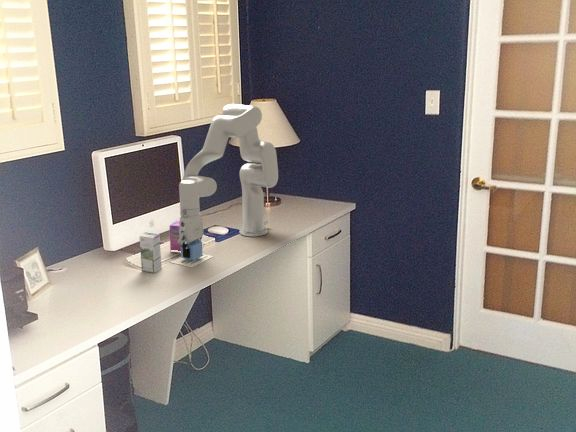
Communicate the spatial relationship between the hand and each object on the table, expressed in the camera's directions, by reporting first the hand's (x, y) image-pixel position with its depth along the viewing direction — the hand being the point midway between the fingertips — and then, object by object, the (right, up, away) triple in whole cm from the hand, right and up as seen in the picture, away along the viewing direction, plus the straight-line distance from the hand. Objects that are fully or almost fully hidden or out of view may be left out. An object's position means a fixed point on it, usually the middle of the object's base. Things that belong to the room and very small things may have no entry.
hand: (191, 254), depth 268 cm
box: (-6, +1, +13) cm, 14 cm away
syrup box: (-14, -5, -11) cm, 18 cm away
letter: (0, -2, +1) cm, 2 cm away
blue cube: (0, -1, 0) cm, 1 cm away
